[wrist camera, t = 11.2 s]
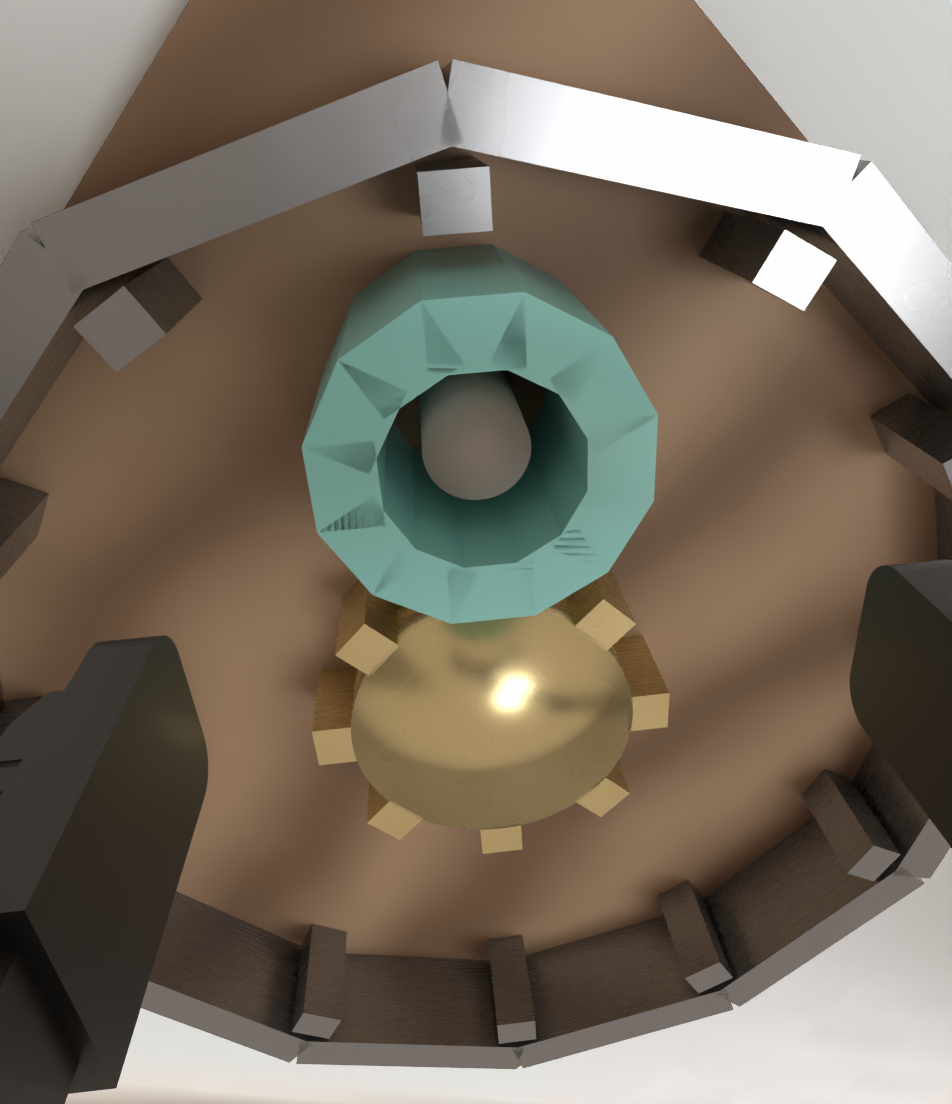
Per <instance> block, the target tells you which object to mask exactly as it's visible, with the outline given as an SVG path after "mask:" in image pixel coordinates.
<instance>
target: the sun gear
mask: <svg viewBox="0 0 952 1104" xmlns="http://www.w3.org/2000/svg"><path fill="white" fill-rule="evenodd" d="M635 625H636V622H635V620H634V618H633V616H632V614H631V611H630V609H629V607H628V605H627V603H626V601H625V598H624V596H623V594H622V592H621V590H620V587H619V585H618V583H617V581H616V579H615V577H614V574H613V572H612V570H611V569H610V570H609V572H608V573H606V574H604V575H603V576H601V577H599V578H598V579H596V580H594V581H593V582H591V583H589V584H588V585H586V586H584V587H583V588H581V589H579V590H577V591H576V592H574V593H572V594H571V595H569V596H567V597H566V598H564V599H562V600H561V601H559V602H557V603H556V604H554V605H552V606H551V607H549V608H547V609H545V610H544V611H542V612H540V613H539V614H537V615H535V616H525V617H515V618H505V619H495V620H485V621H475V622H465V623H455V624H450V623H448V622H445V621H442V620H439V619H437V618H434V617H431V616H428V615H426V614H423V613H420V612H417V611H415V610H412V609H409V608H406V607H404V606H401V605H398V604H395V603H393V602H390V601H387V600H384V599H382V598H379V597H376V596H373V595H372V594H371V593H370V592H369V590H368V589H367V588H366V587H365V586H364V585H363V584H362V583H361V581H360V580H359V579H358V580H357V581H356V582H355V584H354V585H353V586H352V587H351V588H350V589H349V590H348V591H347V592H346V594H345V595H344V596H343V597H342V602H341V610H340V619H339V627H338V636H337V644H336V653H335V655H336V656H337V657H339V658H340V659H342V660H344V661H345V662H347V663H349V664H350V665H352V666H343V667H333V668H323V669H321V670H320V677H319V684H318V691H317V698H316V705H315V712H314V719H313V726H312V735H313V740H314V744H315V749H316V754H317V758H318V763H319V765H327V764H336V763H345V762H354V761H357V762H358V764H359V766H360V768H361V770H362V772H363V774H364V775H365V776H366V778H367V779H368V781H369V789H368V811H367V823H368V824H370V825H372V826H374V827H376V828H378V829H380V830H381V831H383V832H385V833H387V834H389V835H391V836H393V837H395V838H397V839H399V840H401V839H402V838H403V837H404V836H405V835H406V834H407V833H408V832H409V831H410V830H412V829H413V828H414V827H415V826H416V825H417V824H418V823H419V822H420V821H421V820H425V821H428V822H431V823H434V824H438V825H442V826H447V827H452V828H460V829H472V830H480V834H481V843H482V852H483V854H487V853H496V852H505V851H513V850H522V831H521V825H523V824H527V823H531V822H535V821H538V820H540V819H543V818H546V817H549V816H551V815H553V814H555V813H558V812H560V811H562V810H564V809H566V808H567V807H569V806H571V805H572V804H574V803H576V802H577V803H578V804H580V805H582V806H583V807H585V808H587V809H588V810H590V811H591V812H593V813H595V814H596V815H598V816H600V817H602V816H603V815H604V814H606V813H607V812H608V811H609V810H610V809H612V808H613V807H614V806H615V805H617V804H618V803H619V802H620V801H621V800H623V799H624V798H625V797H626V796H627V795H629V794H630V791H629V788H628V785H627V782H626V780H625V777H624V774H623V771H622V768H621V765H620V762H619V758H620V757H621V755H622V753H623V751H624V748H625V746H626V744H627V742H628V738H629V735H630V731H637V730H646V729H655V728H664V727H668V711H669V695H670V693H669V691H668V688H667V686H666V684H665V682H664V680H663V678H662V675H661V673H660V671H659V669H658V667H657V665H656V662H655V660H654V658H653V656H652V654H651V652H650V649H649V647H648V645H647V643H646V641H645V639H644V636H643V635H638V636H629V637H622V636H624V635H625V634H626V633H627V632H628V631H629V630H630V629H631V628H632V627H633V626H635Z"/></svg>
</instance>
